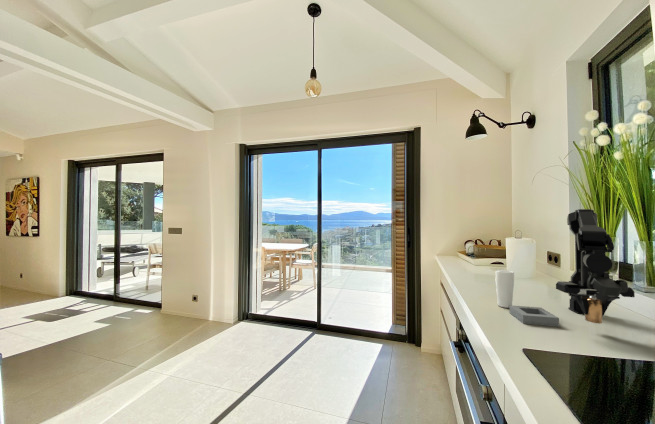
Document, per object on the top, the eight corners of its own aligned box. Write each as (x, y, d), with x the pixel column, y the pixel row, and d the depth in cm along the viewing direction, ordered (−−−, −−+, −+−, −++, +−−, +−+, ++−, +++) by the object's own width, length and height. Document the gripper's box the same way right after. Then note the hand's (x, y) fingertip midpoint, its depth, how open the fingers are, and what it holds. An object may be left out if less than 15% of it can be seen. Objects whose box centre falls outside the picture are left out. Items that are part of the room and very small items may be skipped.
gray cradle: (541, 315, 103) (541, 307, 103) (559, 326, 93) (559, 317, 93) (509, 312, 106) (509, 305, 106) (523, 323, 95) (523, 315, 95)
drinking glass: (517, 309, 110) (517, 273, 110) (499, 308, 111) (499, 272, 111) (509, 304, 116) (509, 270, 117) (492, 303, 118) (492, 269, 118)
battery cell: (596, 319, 90) (595, 295, 90) (605, 324, 86) (605, 299, 86) (582, 318, 91) (581, 294, 91) (590, 322, 87) (590, 298, 87)
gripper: (576, 270, 83) (576, 321, 83) (650, 274, 79) (651, 327, 78) (554, 264, 94) (555, 309, 93) (619, 267, 90) (619, 314, 89)
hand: (593, 314), depth 88 cm, fingers closed on battery cell, 4 cm apart
